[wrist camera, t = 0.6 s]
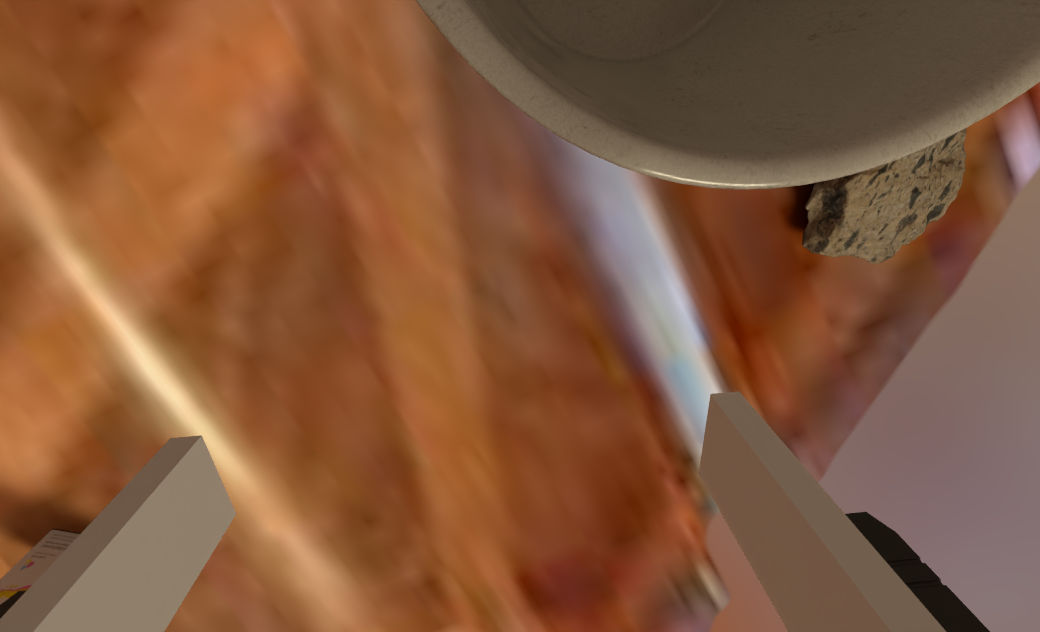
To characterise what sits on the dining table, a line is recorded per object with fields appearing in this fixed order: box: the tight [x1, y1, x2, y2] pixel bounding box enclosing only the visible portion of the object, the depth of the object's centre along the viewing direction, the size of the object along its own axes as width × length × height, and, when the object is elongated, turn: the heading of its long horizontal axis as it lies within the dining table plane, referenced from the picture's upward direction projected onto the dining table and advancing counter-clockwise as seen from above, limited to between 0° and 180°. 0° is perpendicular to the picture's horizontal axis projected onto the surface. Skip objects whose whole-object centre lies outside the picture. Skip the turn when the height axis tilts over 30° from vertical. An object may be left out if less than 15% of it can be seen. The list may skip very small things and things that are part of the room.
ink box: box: [0, 529, 80, 604], centre depth 44 cm, size 8×5×12 cm, turn 70°
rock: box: [802, 128, 966, 264], centre depth 36 cm, size 11×12×4 cm
